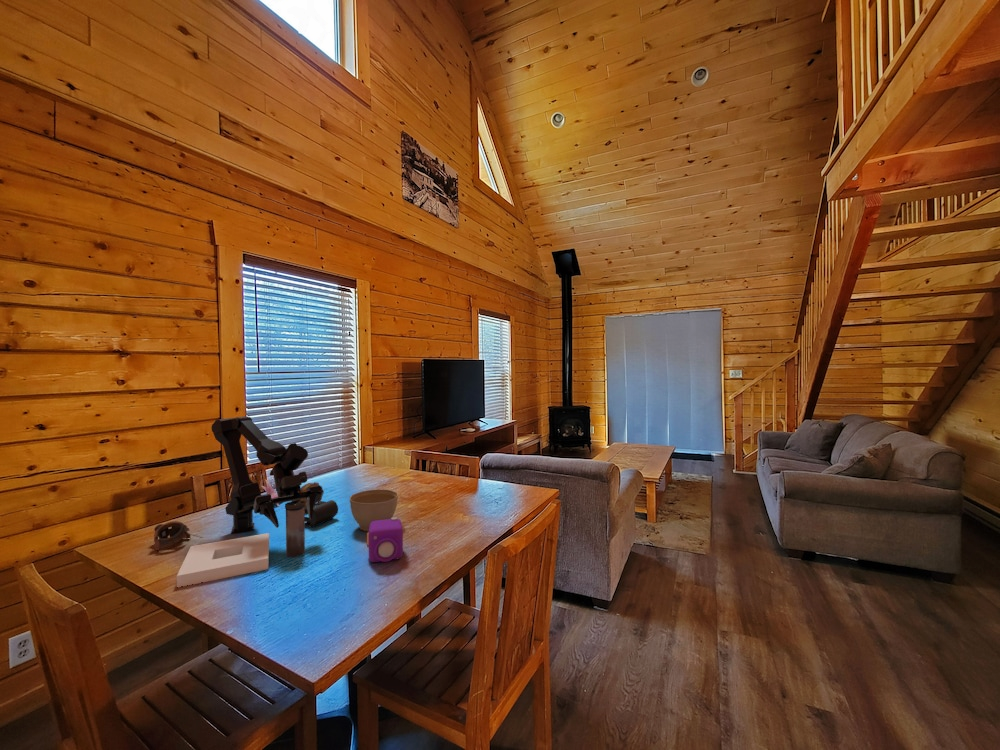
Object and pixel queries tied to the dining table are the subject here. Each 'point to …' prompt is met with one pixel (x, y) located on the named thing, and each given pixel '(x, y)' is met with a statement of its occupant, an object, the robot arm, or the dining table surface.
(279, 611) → the dining table surface
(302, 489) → the wooden carving
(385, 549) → the toy camera
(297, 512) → the tube
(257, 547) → the mount plate
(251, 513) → the robot arm
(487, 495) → the dining table surface
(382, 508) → the planter bowl
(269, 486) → the lily
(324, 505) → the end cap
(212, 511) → the dining table surface
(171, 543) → the brown hollow sculpture
